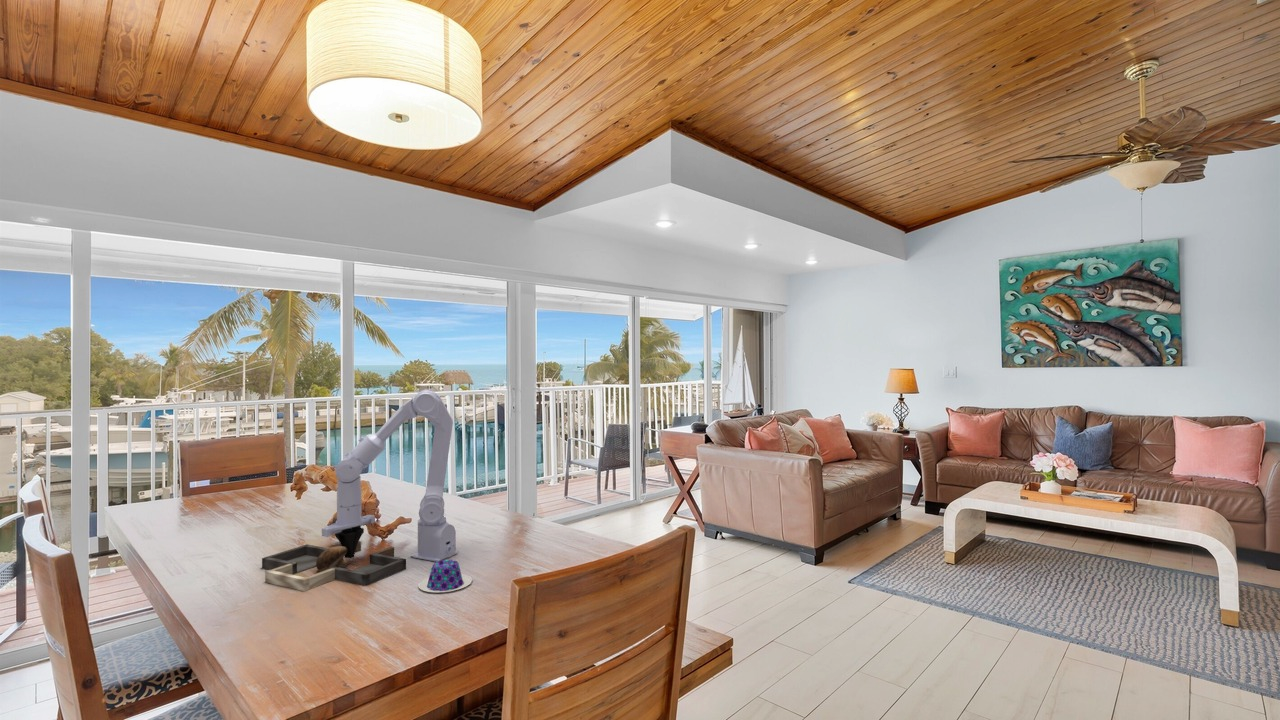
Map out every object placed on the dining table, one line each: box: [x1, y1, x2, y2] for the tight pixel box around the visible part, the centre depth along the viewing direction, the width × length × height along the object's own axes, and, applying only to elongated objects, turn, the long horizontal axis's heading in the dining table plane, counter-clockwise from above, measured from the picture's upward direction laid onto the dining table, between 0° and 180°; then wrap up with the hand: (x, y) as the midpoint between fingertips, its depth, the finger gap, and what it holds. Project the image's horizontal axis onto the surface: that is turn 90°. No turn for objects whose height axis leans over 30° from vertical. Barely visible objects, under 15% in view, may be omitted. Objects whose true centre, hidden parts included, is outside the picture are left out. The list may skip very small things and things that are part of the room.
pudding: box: [417, 559, 473, 593], centre depth 142 cm, size 12×12×5 cm
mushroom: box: [316, 545, 349, 572], centre depth 152 cm, size 8×8×6 cm
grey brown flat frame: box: [261, 540, 407, 592], centre depth 153 cm, size 33×26×2 cm
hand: (349, 557), depth 157 cm, fingers closed
